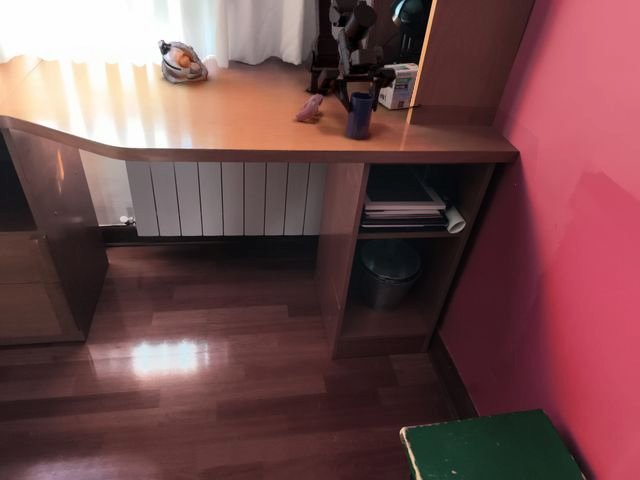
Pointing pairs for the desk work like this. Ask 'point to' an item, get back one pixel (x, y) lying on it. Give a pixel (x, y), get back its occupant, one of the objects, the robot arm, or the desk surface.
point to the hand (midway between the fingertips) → (362, 111)
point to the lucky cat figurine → (181, 62)
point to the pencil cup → (359, 115)
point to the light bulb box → (399, 87)
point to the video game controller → (310, 108)
